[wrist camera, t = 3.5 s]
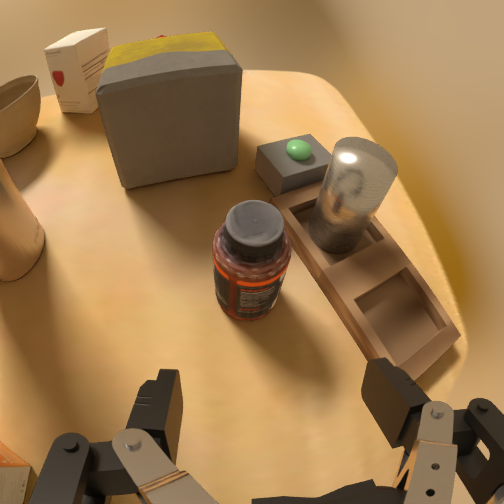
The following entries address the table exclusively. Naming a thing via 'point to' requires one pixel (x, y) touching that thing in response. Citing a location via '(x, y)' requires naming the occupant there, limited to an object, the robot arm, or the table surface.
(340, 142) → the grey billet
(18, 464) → the small box
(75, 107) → the supplement box
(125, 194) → the table surface
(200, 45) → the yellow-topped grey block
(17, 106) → the planter bowl
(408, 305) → the brown wooden tray
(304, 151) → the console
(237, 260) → the supplement bottle
